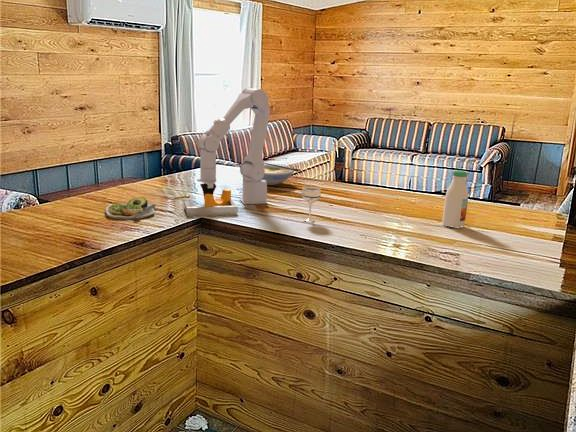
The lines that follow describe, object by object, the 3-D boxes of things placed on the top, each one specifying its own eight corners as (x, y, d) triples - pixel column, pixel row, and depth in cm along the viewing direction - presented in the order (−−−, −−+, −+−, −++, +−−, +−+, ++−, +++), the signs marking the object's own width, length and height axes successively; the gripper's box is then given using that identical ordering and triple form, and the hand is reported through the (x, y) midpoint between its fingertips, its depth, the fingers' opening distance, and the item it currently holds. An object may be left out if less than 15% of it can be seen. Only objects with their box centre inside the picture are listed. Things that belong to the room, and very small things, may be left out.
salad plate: (161, 221, 180) (161, 208, 179) (106, 224, 174) (105, 210, 173) (155, 207, 197) (155, 195, 196) (105, 209, 192) (104, 196, 190)
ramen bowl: (232, 182, 245) (233, 164, 243) (269, 177, 260) (270, 160, 258) (267, 192, 227) (268, 173, 225) (305, 186, 242) (306, 168, 240)
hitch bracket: (231, 206, 201) (232, 199, 201) (237, 214, 191) (237, 206, 190) (184, 207, 197) (184, 200, 196) (187, 216, 186) (187, 208, 185)
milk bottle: (452, 229, 184) (460, 173, 178) (437, 224, 190) (444, 169, 185) (468, 227, 187) (476, 172, 182) (453, 222, 194) (460, 168, 189)
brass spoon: (188, 196, 215) (188, 194, 215) (191, 197, 213) (191, 195, 213) (173, 198, 211) (173, 196, 211) (176, 199, 210) (176, 197, 209)
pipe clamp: (222, 204, 204) (222, 188, 203) (230, 206, 202) (230, 190, 200) (200, 210, 195) (200, 193, 193) (209, 212, 193) (209, 195, 191)
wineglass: (309, 217, 192) (311, 184, 189) (323, 221, 187) (325, 188, 184) (296, 220, 187) (297, 187, 184) (310, 224, 183) (311, 190, 179)
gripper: (195, 164, 201) (195, 198, 205) (199, 171, 188) (199, 207, 192) (213, 163, 203) (213, 198, 207) (219, 171, 190) (218, 207, 194)
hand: (208, 202), depth 199 cm, fingers closed
